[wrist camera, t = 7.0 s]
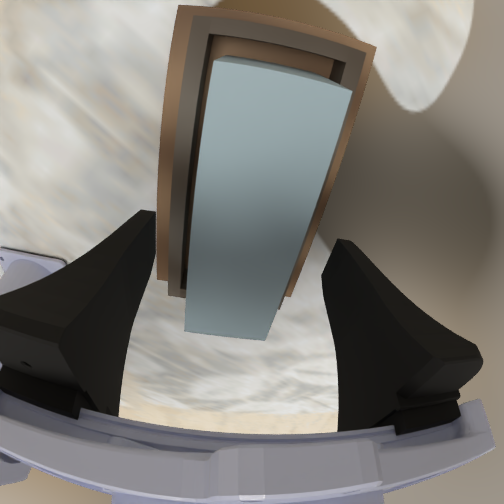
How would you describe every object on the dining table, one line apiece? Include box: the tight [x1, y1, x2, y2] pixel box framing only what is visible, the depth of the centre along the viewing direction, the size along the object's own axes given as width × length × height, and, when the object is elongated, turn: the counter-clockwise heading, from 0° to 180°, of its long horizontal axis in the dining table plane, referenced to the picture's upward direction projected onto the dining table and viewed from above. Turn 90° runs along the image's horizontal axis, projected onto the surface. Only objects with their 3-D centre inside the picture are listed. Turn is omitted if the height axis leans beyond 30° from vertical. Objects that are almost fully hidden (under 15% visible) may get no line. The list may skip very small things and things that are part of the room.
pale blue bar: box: [184, 55, 352, 341], centre depth 14 cm, size 13×4×6 cm, turn 169°
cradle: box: [157, 5, 377, 310], centre depth 16 cm, size 18×10×3 cm, turn 169°
